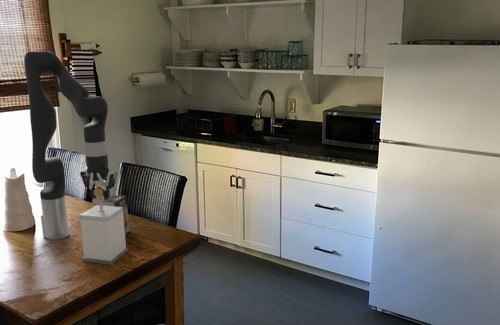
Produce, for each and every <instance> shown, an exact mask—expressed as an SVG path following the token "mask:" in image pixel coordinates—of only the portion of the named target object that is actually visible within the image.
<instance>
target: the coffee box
mask: <svg viewBox="0 0 500 325" xmlns="http://www.w3.org/2000/svg"><path fill="white" fill-rule="evenodd" d="M127 202H128V200H127V195H119V194H118V195H116V194H115V195H114V194H113V195H110V197H109V199H107V200H102V204H103V206H114V207H123V217H124V229H125V235H126V234H127V233H129V230H130V228H129V215H128V203H127Z"/></svg>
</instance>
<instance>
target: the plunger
mask: <svg viewBox="0 0 500 325" xmlns="http://www.w3.org/2000/svg"><path fill="white" fill-rule="evenodd" d="M103 190H104V189H103V186H102V185H96V187H95V188H94V195H95V196H96V197H97V198H98V202H99V205H100V212H103V198H104V193H103Z"/></svg>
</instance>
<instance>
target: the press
mask: <svg viewBox="0 0 500 325" xmlns="http://www.w3.org/2000/svg"><path fill="white" fill-rule="evenodd" d="M79 221H80V222H79V223H80V230H81V240H82V241H81V242H82V249H83V257H81V258H82V259H81V260H82V262H85V263H86V262H87V263H93V264H94V263H95V264H102V265H103V264H104V265H110V266H112V265H113V264H114V263H115V262H117V261H118V260H119V259H120V258H121V257H123V256H124V255H125V254H126V253H127V252H129V247H127V243H126V234H125V229H124V217H123V207H114V206H103V212H100V204H97V205H95V206H92V207H91V208H89V209H88V210H86V211H84V212H82V213H81V214H79Z"/></svg>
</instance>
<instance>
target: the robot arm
mask: <svg viewBox="0 0 500 325" xmlns="http://www.w3.org/2000/svg"><path fill="white" fill-rule="evenodd" d="M23 58H24V59H23V61H24V62H23V65H24V66H23V68H24V74H25V79H26V84H27V90H28V99H29V115H30V116H29V117H30V118H29V119H30V120H29V121H30V128H31V140H32V144H31V145H32V153H31V155H32V160H31V161H32V162H31V163H32V165H31V168H32V169H31V171H32V175H33V178H34V180H35V182H37V183H39V184H45V183H48V182H49V183H48V184H47V185H46V186H45V187H44V188H42V189H41V190H40V192H39V195H40V204H41V210H42V211H41V212H42V215H40V222H41V230H42V236H43V238H45V239H47V240H49V241H54V240H55V241H57V240H62V239H65V238H67V237H68V236H69V235H70V228H69V221H68V210H67V202H66V192H65V191H66V179H65V176H66V175H65V173H66V172H65V167H64V163H63V161H62V159H61V158H60V157H57V156H53V157H48V158H46V154H47V149H48V146H49V144H50V142H51V140H52V139H53V137H54V135H55V133H56V130H57V127H58V125H57V124H58V123H57V110H56V108H55V106H54V105H53V103H52V101H51V100H50V99H49V98H48V96H47V95H46V93H45V92H44V89H43V87H42V81H41V77H51V76H53V77H55V78H56V79H58V83H57V84H58V90H59V91H60V92H61V94H62V95H63V97H65V98H66V99H67V100H68V101H69V102H70V103H71V105H72V106H73V109H74V110H75V112H76V114H77V116H79V117H80V118H82V119H92V120H91V122H89V123H87V124H86V125H84V127H83V137H84V153H85V154H84V155H85V164H86V168H87V169H84V170H82V171H80V172H79V174H80V178H81V180H82V182H83V185H84V188H89V192H90V197H91V199H92V200H95V199H96V198H97V199H98V197H96V196H95V195H94V188H95V187H97V182H99V184H100V186H103V189H104V190H103V193H104V196H103V201H105V200H107V199H109V197H111V194H110V192H111V190H110V189H113V188H114V187H115V184H116V180H117V179H116V178H117V175H118V174H117V172H116V171H115V172H113V171H110V169H109V159H108V158H109V157H108V147H107V142H106V131H105V128H106V123H107V117H108V111H109V109H108V108H109V107H108V103H107V101H106V99H105V98H104V97H102V96H90V93H89V91H88V89H87V88H86V87H84V86H83V84H81V83H80V82H79V81H78V80H77V79H76V78H75V77H74V76H72V74H71V73H70V71H69V70H68V69H67V67H66V66H65V65H64V63H63V62H62V61H61V60H60V58H59V57H58V56H57V54H55V53H54V52H53V51H51V50H34V51H33V50H31V51H30V50H29V51H27V52H26V53H25V54H24V57H23Z"/></svg>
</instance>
